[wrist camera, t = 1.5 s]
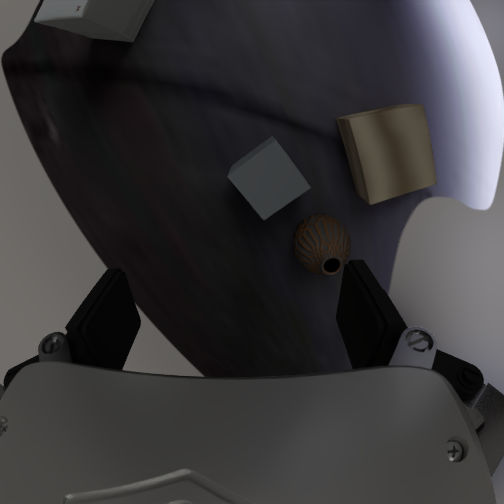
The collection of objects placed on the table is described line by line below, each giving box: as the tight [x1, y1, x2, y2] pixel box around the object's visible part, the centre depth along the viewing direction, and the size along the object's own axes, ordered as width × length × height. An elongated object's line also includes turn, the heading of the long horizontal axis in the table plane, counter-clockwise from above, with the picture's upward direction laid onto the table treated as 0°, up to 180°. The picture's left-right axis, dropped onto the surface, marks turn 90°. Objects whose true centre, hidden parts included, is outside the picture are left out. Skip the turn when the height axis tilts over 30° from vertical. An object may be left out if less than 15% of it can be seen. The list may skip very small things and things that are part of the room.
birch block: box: [336, 104, 437, 205], centre depth 28 cm, size 10×10×5 cm
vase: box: [293, 214, 350, 275], centre depth 32 cm, size 7×7×9 cm
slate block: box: [227, 136, 311, 220], centre depth 29 cm, size 6×6×6 cm
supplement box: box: [34, 0, 155, 42], centre depth 15 cm, size 7×7×13 cm
